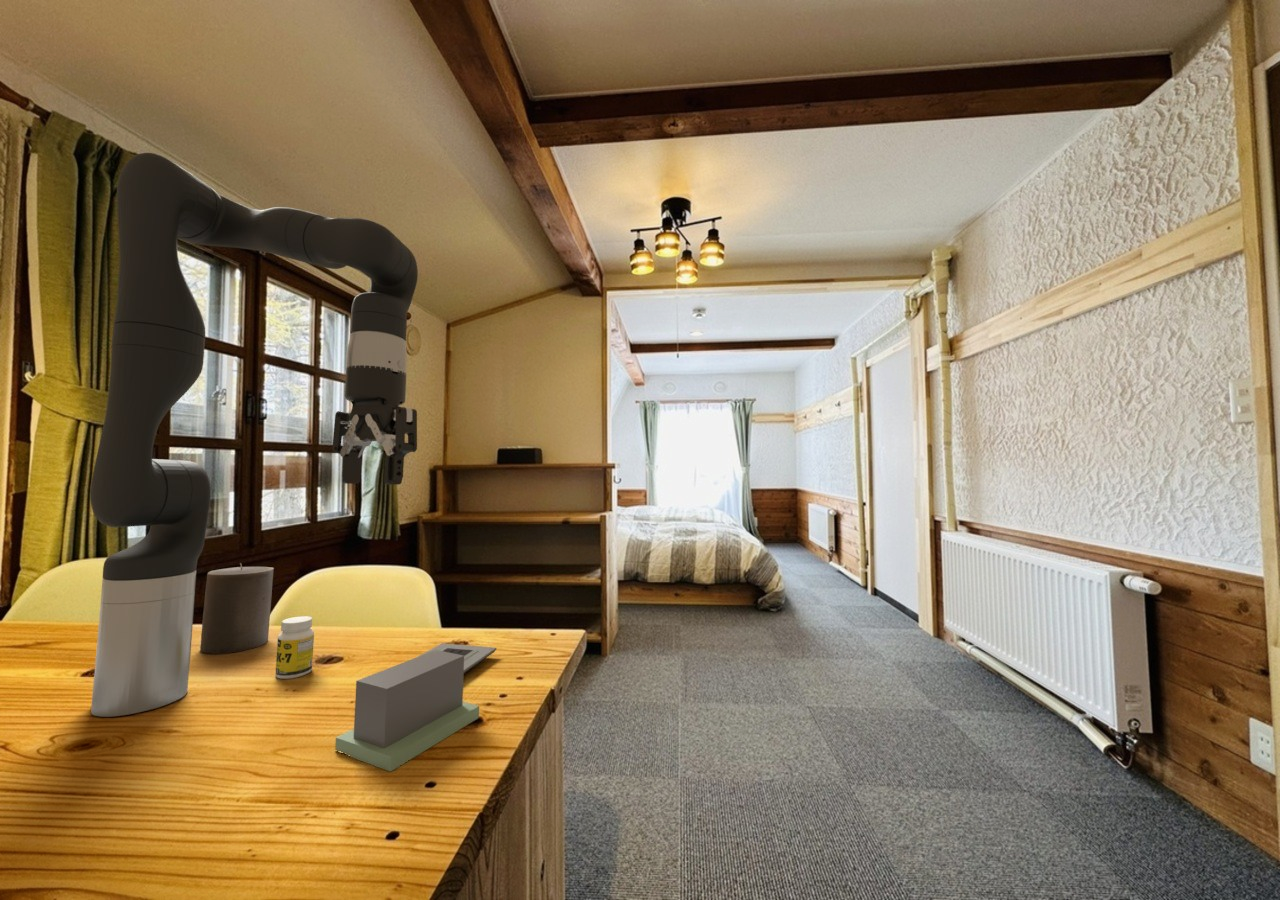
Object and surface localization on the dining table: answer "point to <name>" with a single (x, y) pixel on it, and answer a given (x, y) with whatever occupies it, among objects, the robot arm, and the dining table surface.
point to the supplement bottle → (295, 648)
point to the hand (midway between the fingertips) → (371, 484)
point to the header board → (408, 740)
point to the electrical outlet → (466, 653)
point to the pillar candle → (236, 609)
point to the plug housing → (407, 697)
